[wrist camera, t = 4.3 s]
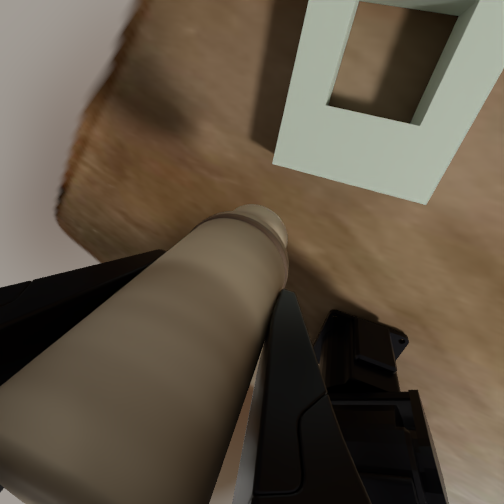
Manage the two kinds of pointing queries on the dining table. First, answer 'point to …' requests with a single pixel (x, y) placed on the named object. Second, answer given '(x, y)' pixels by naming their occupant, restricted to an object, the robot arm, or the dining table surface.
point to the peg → (149, 375)
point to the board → (381, 129)
